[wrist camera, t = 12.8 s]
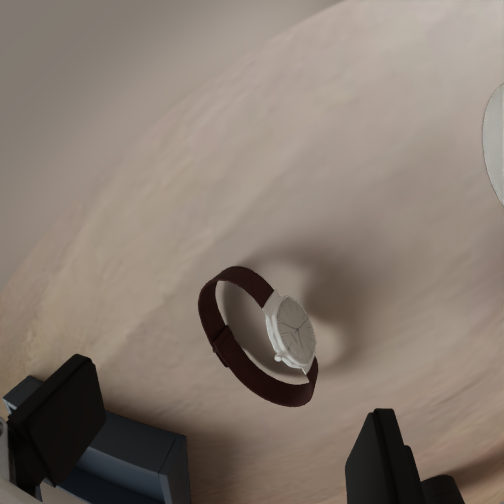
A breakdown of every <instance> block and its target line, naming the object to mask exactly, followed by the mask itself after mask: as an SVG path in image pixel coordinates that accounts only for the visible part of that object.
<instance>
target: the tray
mask: <svg viewBox="0 0 504 504" xmlns="http://www.w3.org/2000/svg"><path fill="white" fill-rule="evenodd" d="M42 384H43V383H42V382H40V381H38V380H36V379H34V378H33V377H31V376H27V377H26V378H25V379H24V380H23V381H21V382H20V383H19V384H18V385H17V386H16V387H14V388H13V389H12V390H11V391H10V392H8V393H7V394H6V395H5V396H4V397H3V398H2V399H3V401H4V403H5V406H6V408H7V410H8V412H9V415H10V414H11V413H12V412H13V411H14V410H15V409H16V408H17V407H18V406H19V405H20V404H21V403H22V402H24V401H25V400H26V399H27V398H28V397H29V396H30V395H31V394H32V393H33V392H34V391H35V390H36V389H37V388H38V387H39V386H40V385H42ZM105 412H106V422H105V424H104V426H103V427H102V429H101V430H100V431H99V433H98V434H97V435H96V437H95V438H94V440H93V441H92V442H91V444H90V445H89V447H88V448H87V449H86V451H85V452H84V454H83V455H82V456H81V458H80V459H79V461H78V462H77V463H76V465H75V466H74V468H73V469H72V470H71V472H70V473H69V475H68V476H67V477H66V479H65V480H64V481H63V482H62V483H58V484H57V486H56V487H58V488H60V489H61V490H63V491H65V492H67V493H69V494H70V495H72V496H74V497H76V498H78V499H80V500H82V501H84V502H86V503H88V504H191V496H190V485H189V473H188V460H187V445H186V436H183V435H179V434H175V433H172V432H168V431H165V430H161V429H158V428H155V427H152V426H148V425H145V424H142V423H139V422H136V421H133V420H130V419H127V418H125V417H122V416H119V415H116V414H114V413H111V412H108V411H106V410H105Z"/></svg>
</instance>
